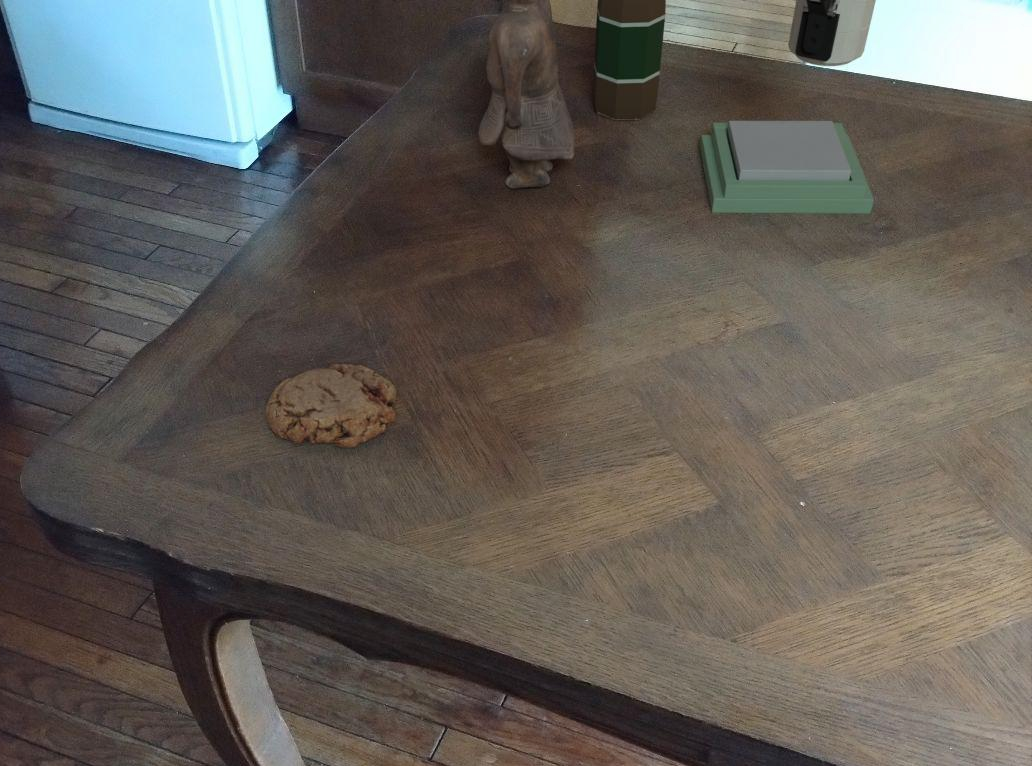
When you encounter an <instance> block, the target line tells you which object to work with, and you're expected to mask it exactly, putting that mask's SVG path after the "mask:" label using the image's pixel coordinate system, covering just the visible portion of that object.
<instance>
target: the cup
mask: <svg viewBox="0 0 1032 766" xmlns="http://www.w3.org/2000/svg"><path fill="white" fill-rule="evenodd" d="M804 1H805V0H795V5H794V11H793V16H792V21H791V26H790V27H791V28H790V33H789V39H788V43H787V47H788V49H789V51H790V53H792V54H793V55H794V56H795V57H796V58H797V59H798V60H800V61H802V62H804V63H806V64H810V65H814V66H818V67H819V66H820V67H838V66H839V67H840V66H844V65H848V64H850V63H852V62H853V61H856V60H858V59H859V58H861V57H862V56H863V54H864V53H865V49H866V44H867V41H868V36H869V31H870V28H871V27H870V26H871V23H872V19H873V14H874V10H875V5H876V2H877V0H840V3H839V6H838V9H837V12H836V13H837V14H840V17H839V22H838V26H837V31H836V36H835V41H834V45H833V50H832V55H831V58H830V59H829V60H828V61H826V62H825V61H820V60H815V59H810V58H806V57H801V56H797V55H796V53H795V50H796V45H797V40H798V34H799V29H800V24H801V18H802V13H803V5H804Z"/></svg>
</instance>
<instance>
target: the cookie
mask: <svg viewBox="0 0 1032 766" xmlns="http://www.w3.org/2000/svg"><path fill="white" fill-rule="evenodd" d="M396 400H397V388H396V386H395V385H394V384H393V383H392V382H391V381H390V380H389V379H386V378H385V377H384V376H382V375H381V374H379V373H376V372H375V370H373V369H371V368H370V367H368V366H364V365H363V364H357V365H355V364H351V363H348V364H345V363H335V364H332V365H330V366H329V367H327V368H313V369H309V370H306V371H304V372H302V373H300V374H297V375H295V376H294V377H289V378H286V379H283V381H282V382H280V383H279V384H278V385H277V386H276V387H275V388H274V390H273V391H272V392H271V394H270V395H269V398H268V400H267V403H266V406H265V420H266V424H267V426H268V427H269V429H270V428H271V429H272V430H271V429H270V430H271V432H272V433H273V432H274V433H273V434H274V435H275V434H276V435H277V436H276V435H275V436H276V437H278V436H279V437H280V438H281V439H284V440H286V441H292V442H293V444H300V445H302V444H303V443H306V442H308V445H309V446H312V445H316V444H329V443H331V444H334V445H335V446H337V447H339V448H356V447H357V446H359V445H360V444H364V443H366V442H367V441H369V440H370V439H373V438H375V437H377V436H379V435H381V434H383V433H384V432H385V431H386V430H387V429H389V428H388V427H390V426H391V425H392V423H393V422H396V418H397V414H396V411H395V410H394V409H395V406H396ZM279 437H278V438H279ZM280 438H279V439H280ZM302 442H303V443H302Z"/></svg>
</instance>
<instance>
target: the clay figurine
mask: <svg viewBox="0 0 1032 766" xmlns="http://www.w3.org/2000/svg"><path fill="white" fill-rule="evenodd" d="M493 1H494V2H499V1H500V0H493ZM505 2H506V5H505V6H504V7H503V9H502V10H501V12H500V13H499V15H498V16H497V18H496V19H495V22H494V24H493V26H492V27H491V29H490V32H489V35H488V39H489V40H488V41H489V51H488V55H487V59H486V77H487V81H488V83H489V85H490V87H491V97H490V100H489V104H488V106H487V108H486V111H485V112H484V115H483V116H482V119H481V121H480V123H479V127H478V133H477V135H478V138H479V142H480V143H481V145H482V146H483V147H494V146H495V145H497V144H498V142H499V141H500V142H501V144H502V148H503V149H504V152H505V155H506V156H507V159H508V161H509V163H510V164H509V168H508V169H509V172H510V174H509V175H508V176H507V178H506V179H505V181H504V182H505V183H504V184H505V186H507V187H508V189H511V190H516V189H523V188H542V187H545V186H547V185H549V184H550V183H551V181H550V180H551V178H550V176H549V174H548V173H549V172H550V171H552V169H553V166H554V165H553V162H551V161H552V160H562V161H563V160H564V161H570V160H572V159H573V158H574V156H575V132H574V131H575V130H574V126H573V122H572V118H571V116H570V112H569V109H568V105H567V103H566V100H565V97H564V95H563V91H562V88H561V86H560V82H559V59H558V58H559V57H558V50H557V41H556V35H555V28H554V20H553V11H552V4H551V0H505Z"/></svg>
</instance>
